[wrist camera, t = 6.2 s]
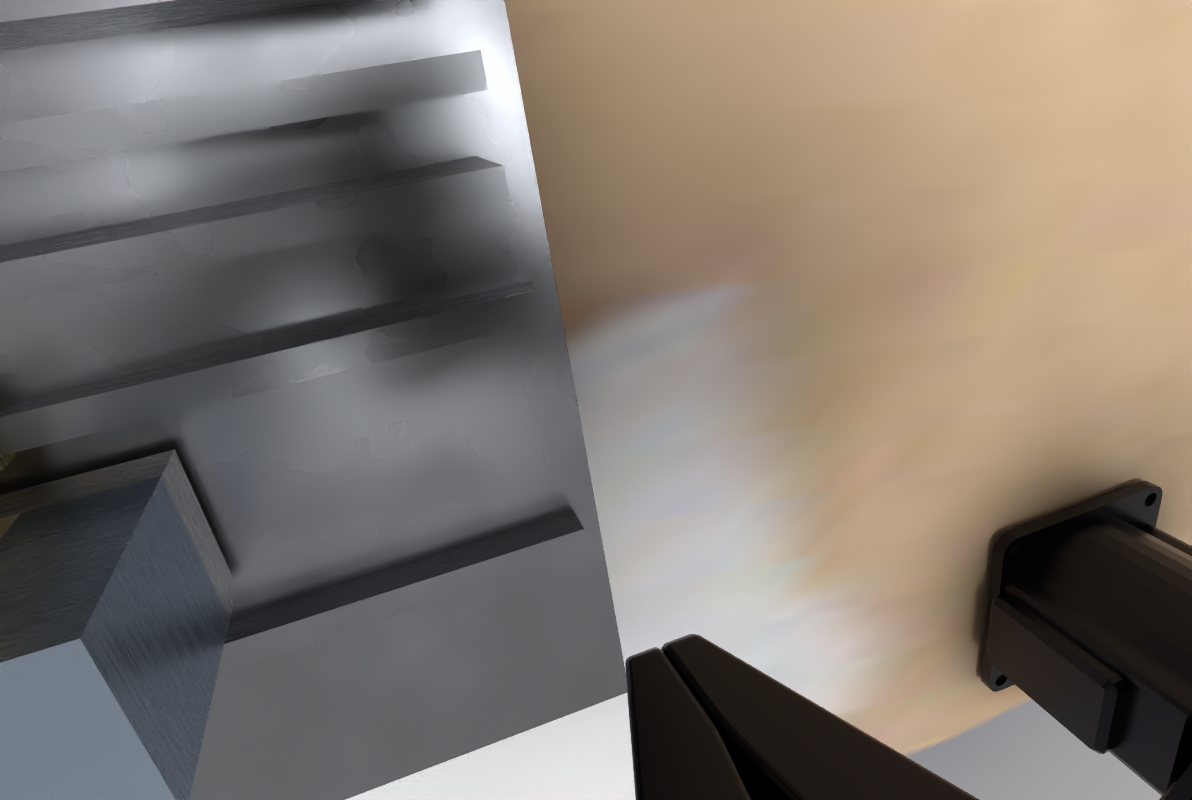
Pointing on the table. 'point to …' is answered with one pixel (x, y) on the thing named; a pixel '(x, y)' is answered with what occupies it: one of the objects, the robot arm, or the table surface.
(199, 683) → the grey block
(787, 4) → the table surface
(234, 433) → the heatsink
